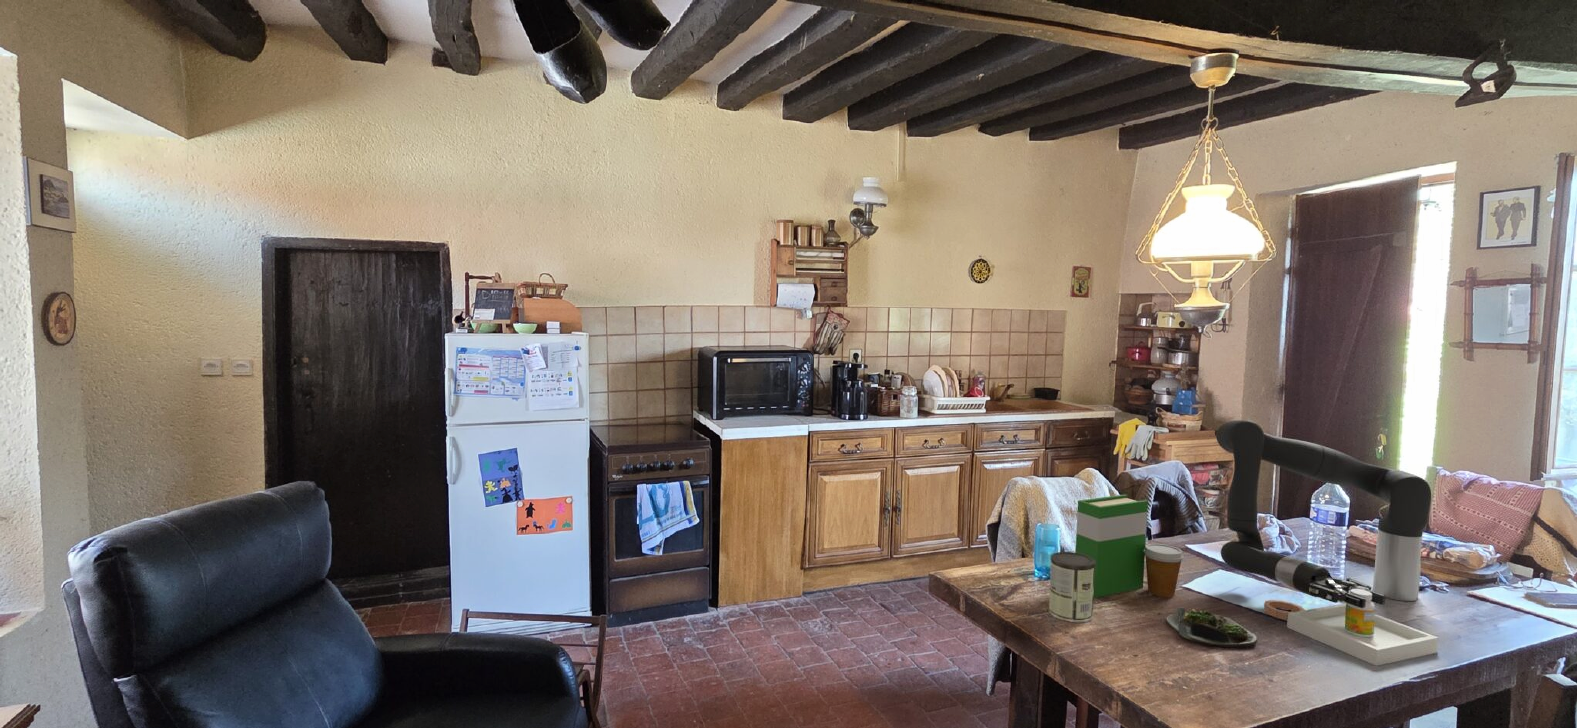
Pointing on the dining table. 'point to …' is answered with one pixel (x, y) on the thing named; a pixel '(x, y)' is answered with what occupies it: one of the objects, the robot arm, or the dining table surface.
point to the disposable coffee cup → (1162, 568)
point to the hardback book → (1113, 541)
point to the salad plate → (1211, 630)
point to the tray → (1379, 649)
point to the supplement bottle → (1360, 615)
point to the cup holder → (1273, 604)
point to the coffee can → (1071, 587)
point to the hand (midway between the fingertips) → (1374, 601)
